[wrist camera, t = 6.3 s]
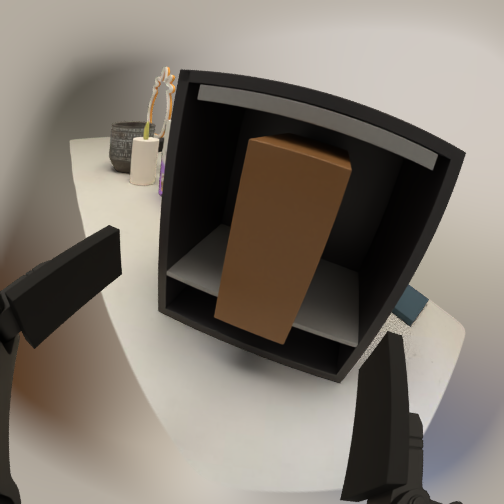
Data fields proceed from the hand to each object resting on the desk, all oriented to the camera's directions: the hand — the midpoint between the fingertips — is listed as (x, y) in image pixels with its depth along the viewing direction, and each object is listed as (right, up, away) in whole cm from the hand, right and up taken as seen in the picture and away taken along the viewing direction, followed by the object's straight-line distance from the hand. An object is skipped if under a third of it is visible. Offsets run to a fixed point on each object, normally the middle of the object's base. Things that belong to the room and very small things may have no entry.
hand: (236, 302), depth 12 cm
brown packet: (+2, -2, +15) cm, 15 cm away
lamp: (-35, +40, +80) cm, 96 cm away
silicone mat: (+24, -5, +30) cm, 39 cm away
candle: (-26, +19, +49) cm, 59 cm away
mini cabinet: (+2, -5, +21) cm, 22 cm away
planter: (-33, +25, +56) cm, 70 cm away
